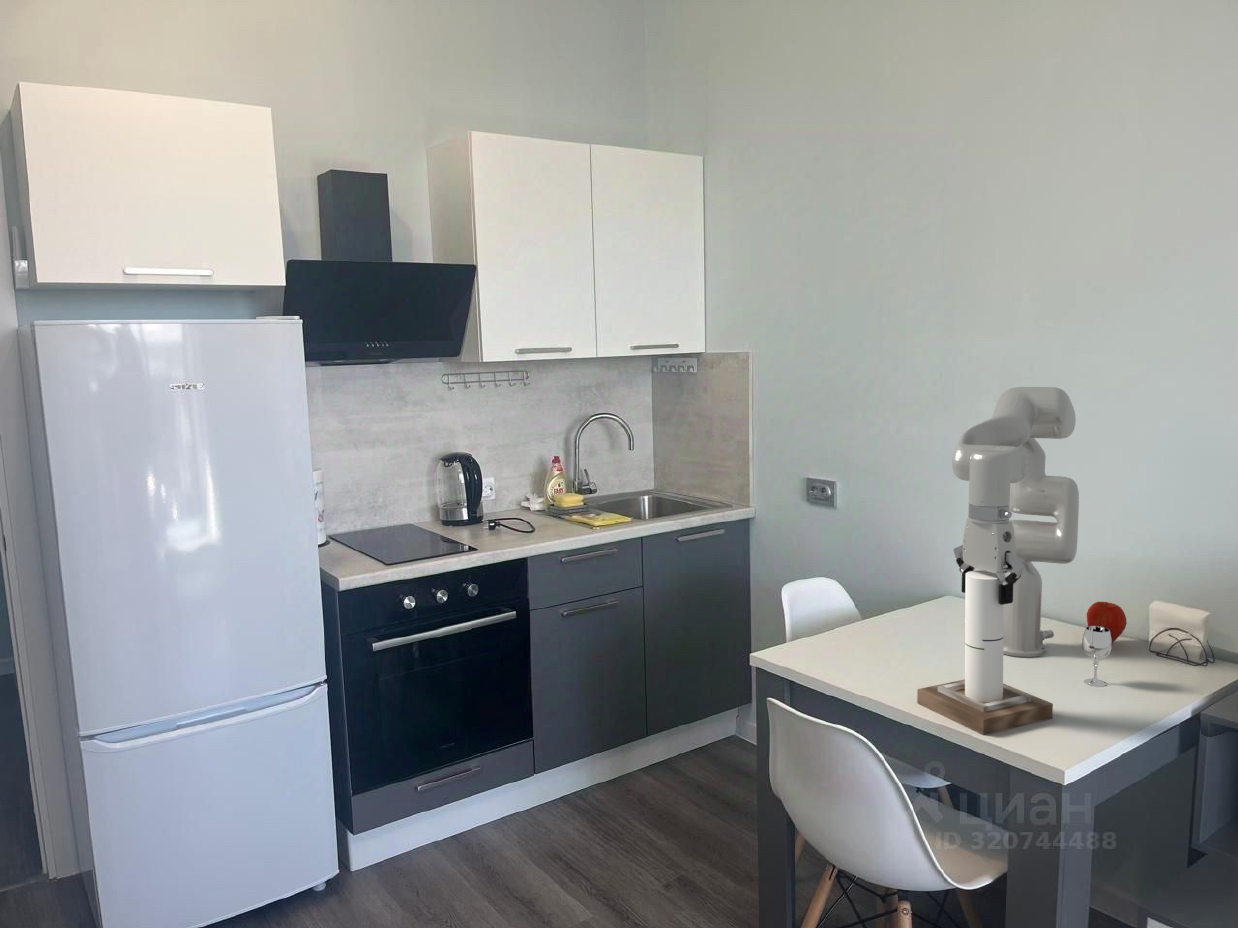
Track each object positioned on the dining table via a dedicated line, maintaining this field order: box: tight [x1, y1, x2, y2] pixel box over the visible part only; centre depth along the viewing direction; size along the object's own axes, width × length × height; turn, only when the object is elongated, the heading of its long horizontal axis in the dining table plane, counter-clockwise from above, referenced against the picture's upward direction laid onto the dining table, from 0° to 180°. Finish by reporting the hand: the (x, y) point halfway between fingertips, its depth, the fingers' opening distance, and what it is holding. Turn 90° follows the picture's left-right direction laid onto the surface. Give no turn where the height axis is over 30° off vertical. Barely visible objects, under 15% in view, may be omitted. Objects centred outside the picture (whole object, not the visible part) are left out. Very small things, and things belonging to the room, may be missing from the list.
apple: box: [1086, 601, 1128, 644], centre depth 228 cm, size 9×8×11 cm
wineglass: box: [1081, 625, 1113, 687], centre depth 202 cm, size 6×6×12 cm
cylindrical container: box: [964, 569, 1004, 702], centre depth 187 cm, size 7×7×25 cm
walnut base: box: [916, 678, 1054, 736], centre depth 189 cm, size 18×18×4 cm
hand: (986, 597), depth 187 cm, fingers open, 9 cm apart
